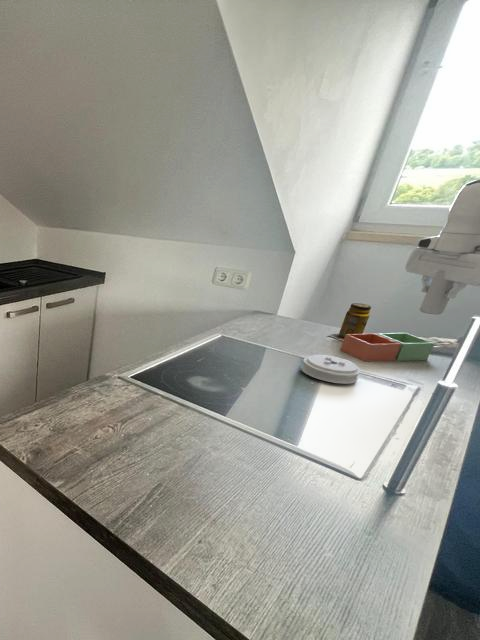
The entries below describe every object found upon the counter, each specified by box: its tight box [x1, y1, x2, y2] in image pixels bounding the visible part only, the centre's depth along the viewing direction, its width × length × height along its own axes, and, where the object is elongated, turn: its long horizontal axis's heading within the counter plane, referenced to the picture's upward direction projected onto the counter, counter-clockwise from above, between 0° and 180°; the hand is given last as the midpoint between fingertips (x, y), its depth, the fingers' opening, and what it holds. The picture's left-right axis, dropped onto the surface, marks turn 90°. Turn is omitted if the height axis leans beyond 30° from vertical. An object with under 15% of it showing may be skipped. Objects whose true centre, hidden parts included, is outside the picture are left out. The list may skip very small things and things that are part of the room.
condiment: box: [328, 302, 372, 342], centre depth 134 cm, size 7×8×12 cm
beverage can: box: [419, 270, 455, 316], centre depth 108 cm, size 5×5×12 cm
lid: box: [300, 354, 362, 384], centre depth 109 cm, size 13×13×5 cm
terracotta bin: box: [339, 332, 401, 362], centre depth 122 cm, size 9×9×6 cm
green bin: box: [376, 332, 435, 362], centre depth 122 cm, size 9×9×6 cm
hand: (437, 294), depth 109 cm, fingers closed on beverage can, 5 cm apart
